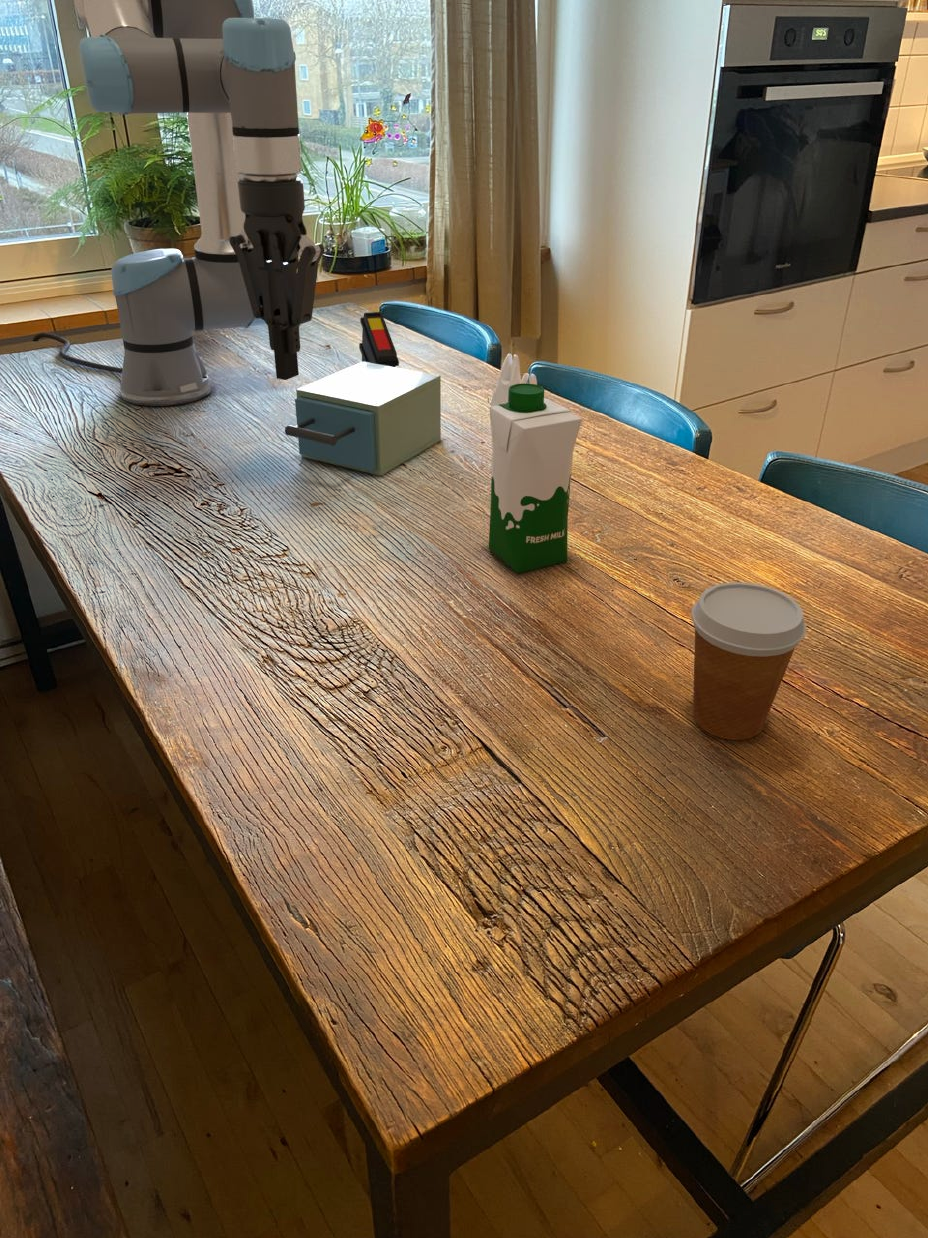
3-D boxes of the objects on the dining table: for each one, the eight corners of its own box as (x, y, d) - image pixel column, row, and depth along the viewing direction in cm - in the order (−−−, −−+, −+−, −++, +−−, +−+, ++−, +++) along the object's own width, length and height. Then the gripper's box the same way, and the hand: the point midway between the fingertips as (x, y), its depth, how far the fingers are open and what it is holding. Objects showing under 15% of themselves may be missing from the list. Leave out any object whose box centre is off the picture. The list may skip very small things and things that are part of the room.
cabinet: (380, 476, 131) (378, 406, 126) (301, 456, 137) (295, 389, 132) (440, 440, 144) (440, 375, 138) (365, 424, 150) (362, 361, 144)
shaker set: (488, 414, 154) (490, 348, 148) (511, 411, 156) (513, 346, 150) (518, 438, 145) (521, 368, 139) (542, 435, 146) (546, 366, 140)
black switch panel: (376, 379, 165) (382, 310, 152) (394, 431, 158) (402, 363, 146) (355, 380, 164) (360, 311, 151) (373, 433, 157) (379, 365, 145)
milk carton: (539, 533, 116) (548, 377, 105) (578, 563, 109) (593, 400, 99) (478, 547, 112) (482, 387, 102) (515, 579, 106) (523, 412, 95)
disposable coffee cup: (662, 690, 87) (679, 581, 81) (759, 686, 88) (783, 577, 82) (692, 755, 79) (713, 639, 73) (798, 749, 80) (828, 634, 74)
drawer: (348, 485, 126) (345, 426, 121) (274, 466, 131) (268, 409, 127) (429, 438, 142) (429, 385, 137) (360, 423, 147) (357, 371, 143)
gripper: (334, 177, 106) (345, 377, 119) (248, 169, 112) (267, 361, 124) (294, 183, 101) (310, 393, 113) (205, 175, 106) (229, 375, 119)
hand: (287, 376), depth 119 cm, fingers closed
